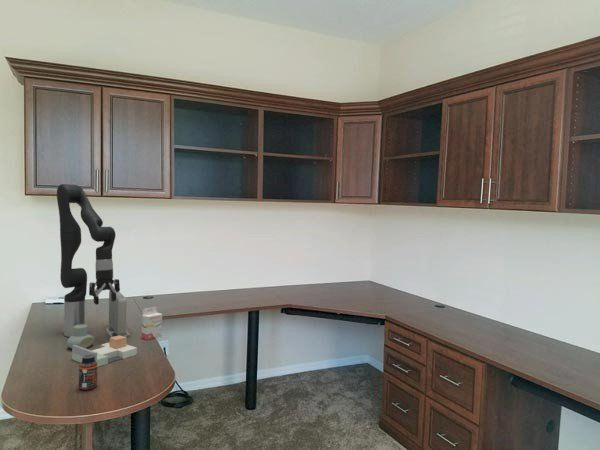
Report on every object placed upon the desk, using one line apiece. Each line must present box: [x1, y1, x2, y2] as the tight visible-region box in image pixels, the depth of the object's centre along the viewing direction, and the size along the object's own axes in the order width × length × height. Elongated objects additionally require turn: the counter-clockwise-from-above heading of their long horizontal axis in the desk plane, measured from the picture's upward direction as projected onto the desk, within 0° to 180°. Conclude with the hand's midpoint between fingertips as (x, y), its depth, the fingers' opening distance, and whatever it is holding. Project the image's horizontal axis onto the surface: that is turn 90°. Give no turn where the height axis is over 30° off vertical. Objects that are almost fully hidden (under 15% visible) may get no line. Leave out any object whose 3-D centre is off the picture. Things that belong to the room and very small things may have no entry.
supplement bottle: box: [78, 355, 98, 391], centre depth 152 cm, size 6×6×11 cm
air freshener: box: [66, 323, 95, 349], centre depth 194 cm, size 11×8×10 cm
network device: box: [105, 290, 130, 338], centre depth 218 cm, size 26×9×20 cm, turn 33°
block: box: [108, 335, 128, 349], centre depth 188 cm, size 5×5×4 cm
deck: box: [71, 342, 138, 368], centre depth 183 cm, size 16×20×6 cm
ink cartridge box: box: [141, 306, 163, 341], centre depth 211 cm, size 9×5×15 cm, turn 141°
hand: (105, 302), depth 201 cm, fingers open, 8 cm apart
